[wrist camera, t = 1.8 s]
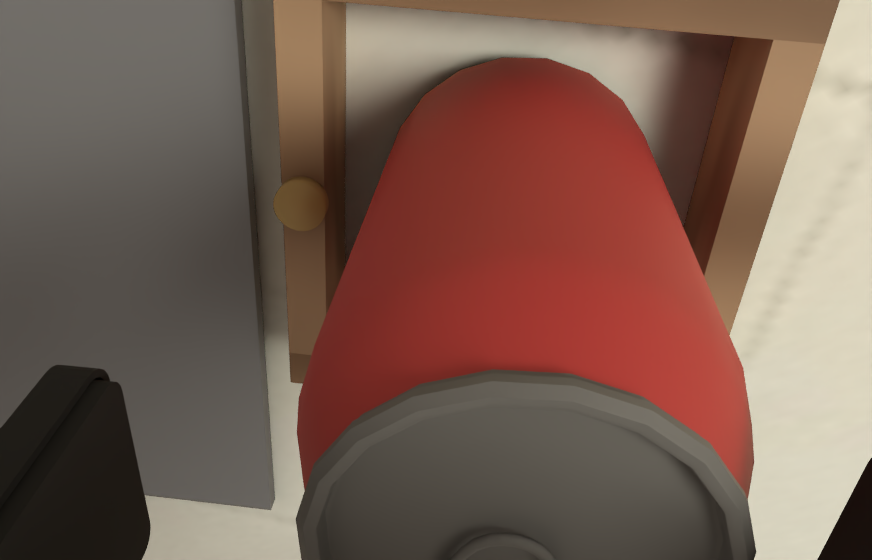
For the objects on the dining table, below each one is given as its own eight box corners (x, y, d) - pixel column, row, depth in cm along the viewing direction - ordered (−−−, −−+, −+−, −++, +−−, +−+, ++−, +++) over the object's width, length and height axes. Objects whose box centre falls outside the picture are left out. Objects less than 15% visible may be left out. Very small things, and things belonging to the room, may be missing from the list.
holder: (681, 369, 22) (702, 437, 19) (308, 329, 22) (283, 391, 20) (799, -31, 16) (851, -6, 14) (297, -72, 17) (259, -56, 14)
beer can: (352, 221, 20) (187, 611, 10) (464, -3, 17) (389, 240, 7) (558, 322, 22) (598, 768, 11) (701, 130, 18) (940, 509, 8)
